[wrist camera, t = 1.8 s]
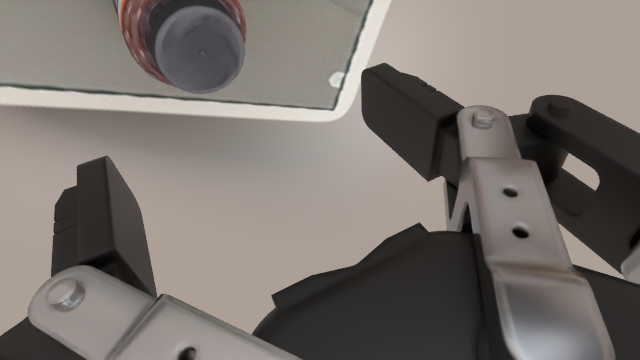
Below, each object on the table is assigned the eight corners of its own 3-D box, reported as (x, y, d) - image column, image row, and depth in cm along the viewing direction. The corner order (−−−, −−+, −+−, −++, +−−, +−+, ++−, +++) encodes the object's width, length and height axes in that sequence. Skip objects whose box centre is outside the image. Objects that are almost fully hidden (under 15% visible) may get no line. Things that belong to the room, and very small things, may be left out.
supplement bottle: (89, -1, 23) (97, 72, 15) (139, -91, 21) (175, -61, 14) (178, 53, 27) (220, 131, 19) (225, -19, 25) (289, 35, 18)
